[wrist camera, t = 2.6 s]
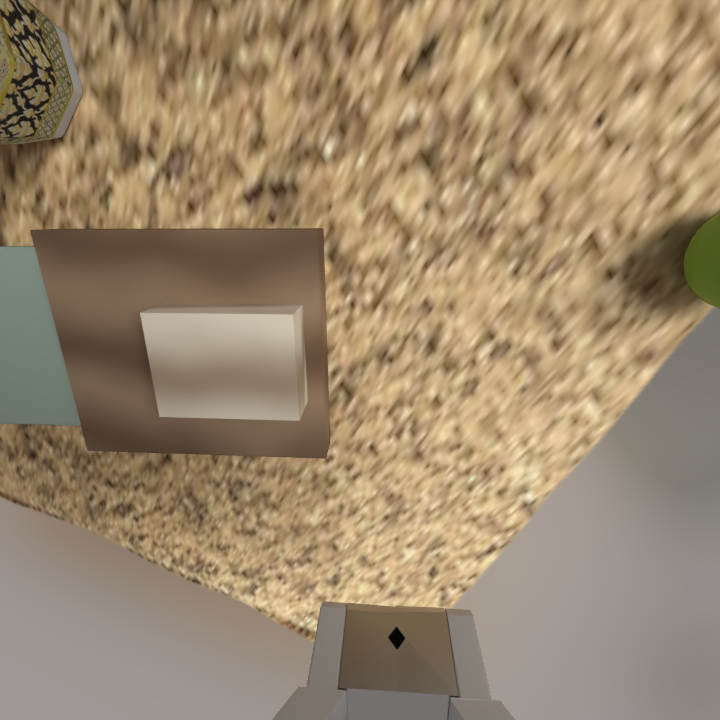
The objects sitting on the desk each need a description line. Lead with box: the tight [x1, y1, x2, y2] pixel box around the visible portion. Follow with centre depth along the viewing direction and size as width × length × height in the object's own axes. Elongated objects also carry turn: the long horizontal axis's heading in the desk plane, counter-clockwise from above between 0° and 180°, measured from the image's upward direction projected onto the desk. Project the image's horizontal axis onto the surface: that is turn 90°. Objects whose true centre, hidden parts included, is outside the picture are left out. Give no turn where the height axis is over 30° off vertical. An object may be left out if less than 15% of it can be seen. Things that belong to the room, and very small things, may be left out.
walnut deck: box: [30, 228, 330, 458], centre depth 25 cm, size 14×16×2 cm
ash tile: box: [140, 303, 308, 421], centre depth 23 cm, size 6×8×2 cm
